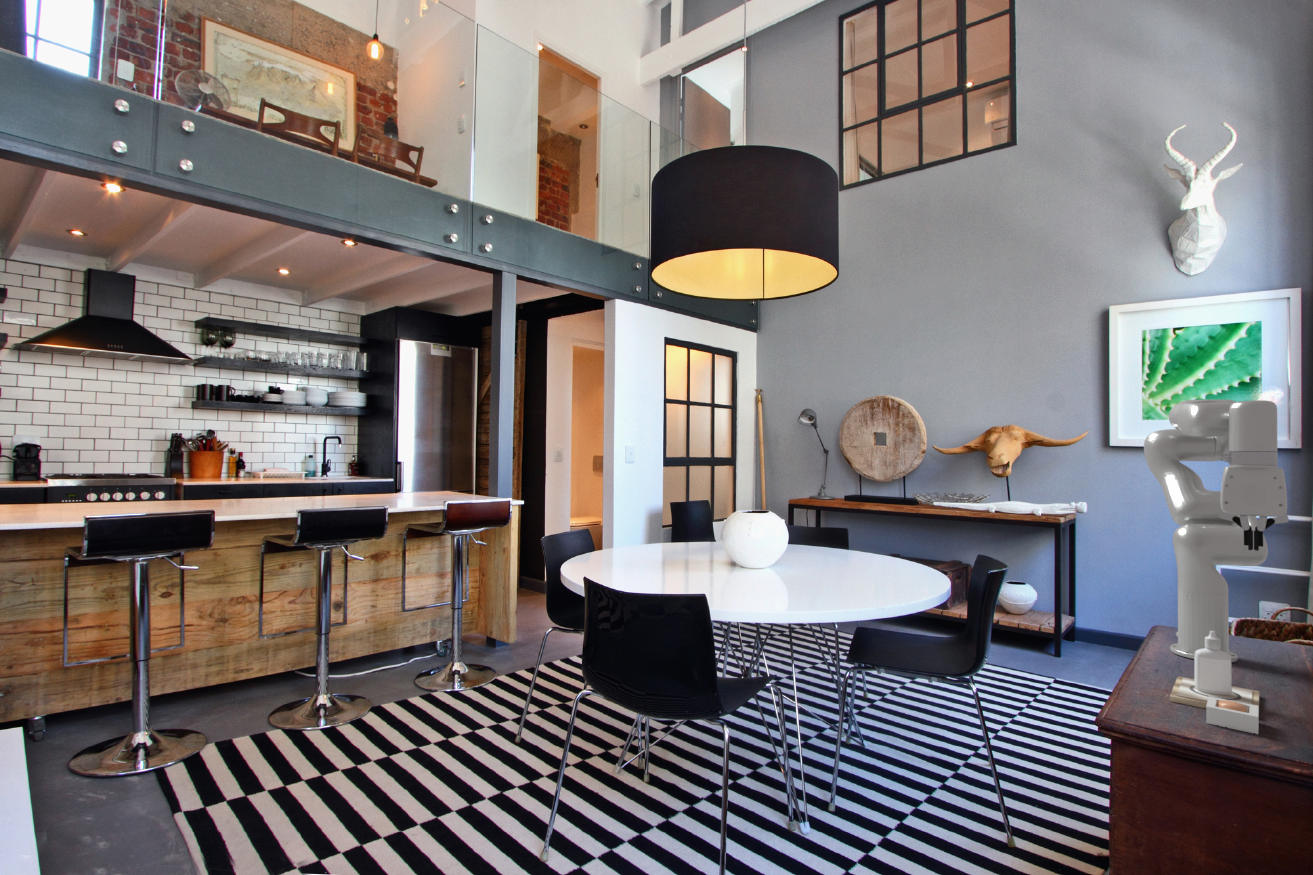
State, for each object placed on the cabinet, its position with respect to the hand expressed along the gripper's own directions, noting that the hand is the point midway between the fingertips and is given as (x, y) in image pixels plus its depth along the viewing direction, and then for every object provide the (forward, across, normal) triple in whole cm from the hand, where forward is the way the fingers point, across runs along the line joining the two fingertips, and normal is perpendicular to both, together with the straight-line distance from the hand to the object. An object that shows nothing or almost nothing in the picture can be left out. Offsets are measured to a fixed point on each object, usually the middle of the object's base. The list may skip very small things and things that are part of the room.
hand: (1253, 549), depth 139 cm
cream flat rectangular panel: (+29, -6, -11) cm, 32 cm away
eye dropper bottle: (+28, -6, -11) cm, 31 cm away
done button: (+28, -3, -24) cm, 37 cm away
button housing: (+29, -3, -24) cm, 38 cm away
